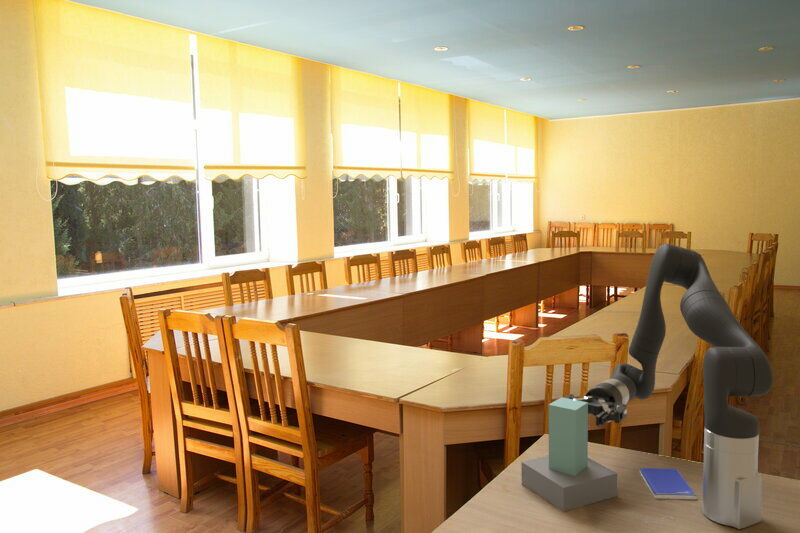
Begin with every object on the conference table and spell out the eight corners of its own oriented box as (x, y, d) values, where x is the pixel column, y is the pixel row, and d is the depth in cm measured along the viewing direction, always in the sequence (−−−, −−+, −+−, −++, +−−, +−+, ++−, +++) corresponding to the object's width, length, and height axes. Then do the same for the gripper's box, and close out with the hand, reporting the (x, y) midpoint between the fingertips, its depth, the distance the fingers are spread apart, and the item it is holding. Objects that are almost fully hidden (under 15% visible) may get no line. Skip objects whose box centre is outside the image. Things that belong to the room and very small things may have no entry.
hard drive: (696, 494, 129) (677, 468, 142) (655, 493, 130) (639, 467, 142) (696, 501, 129) (677, 475, 142) (655, 500, 130) (639, 474, 143)
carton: (587, 465, 135) (587, 402, 133) (575, 475, 130) (575, 410, 129) (561, 459, 139) (561, 397, 137) (548, 468, 134) (548, 404, 133)
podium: (617, 496, 132) (617, 473, 131) (563, 511, 126) (563, 487, 125) (572, 470, 144) (572, 449, 144) (521, 483, 138) (521, 461, 138)
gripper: (579, 377, 154) (548, 394, 141) (638, 387, 145) (610, 407, 132) (579, 407, 155) (548, 427, 142) (637, 419, 146) (610, 441, 133)
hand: (578, 417), depth 137 cm, fingers open, 8 cm apart
